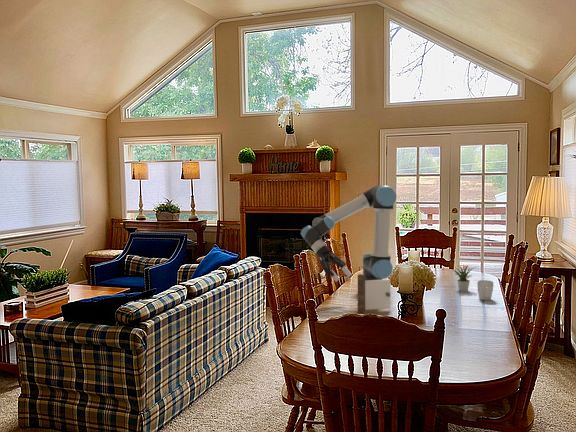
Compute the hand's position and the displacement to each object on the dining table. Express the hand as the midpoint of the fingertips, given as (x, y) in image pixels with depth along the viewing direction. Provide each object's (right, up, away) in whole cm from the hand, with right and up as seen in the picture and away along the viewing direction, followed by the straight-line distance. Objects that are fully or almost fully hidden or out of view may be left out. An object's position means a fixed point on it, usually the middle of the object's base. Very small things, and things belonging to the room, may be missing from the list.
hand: (344, 278), depth 284 cm
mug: (+81, -13, +7) cm, 82 cm away
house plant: (+78, -11, +32) cm, 85 cm away
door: (+15, -14, -17) cm, 27 cm away
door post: (+7, -16, -20) cm, 26 cm away
